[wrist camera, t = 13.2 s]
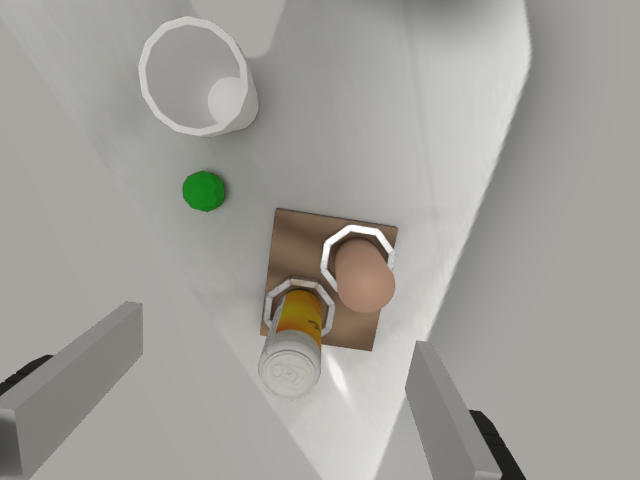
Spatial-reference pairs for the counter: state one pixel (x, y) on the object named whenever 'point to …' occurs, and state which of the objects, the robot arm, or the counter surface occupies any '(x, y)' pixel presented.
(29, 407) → the robot arm
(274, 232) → the pin board
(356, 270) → the pin
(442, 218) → the counter surface
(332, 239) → the socket collars
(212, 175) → the polyhedron
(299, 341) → the beer can
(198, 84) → the foam cup
